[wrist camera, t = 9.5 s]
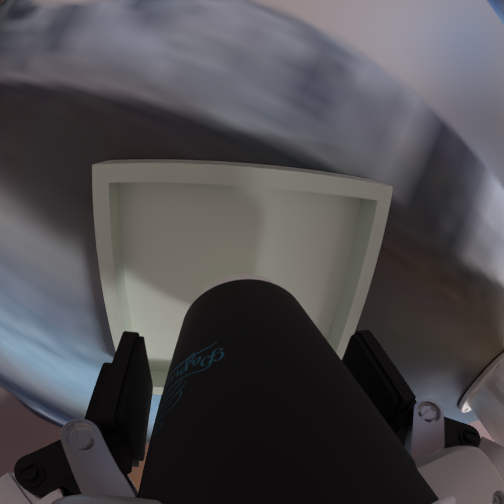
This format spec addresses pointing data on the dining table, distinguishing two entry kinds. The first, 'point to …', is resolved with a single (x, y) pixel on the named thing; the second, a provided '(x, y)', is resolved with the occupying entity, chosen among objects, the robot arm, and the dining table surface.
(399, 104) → the dining table surface
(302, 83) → the dining table surface
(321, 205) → the tray
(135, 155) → the dining table surface
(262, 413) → the dixie cup
